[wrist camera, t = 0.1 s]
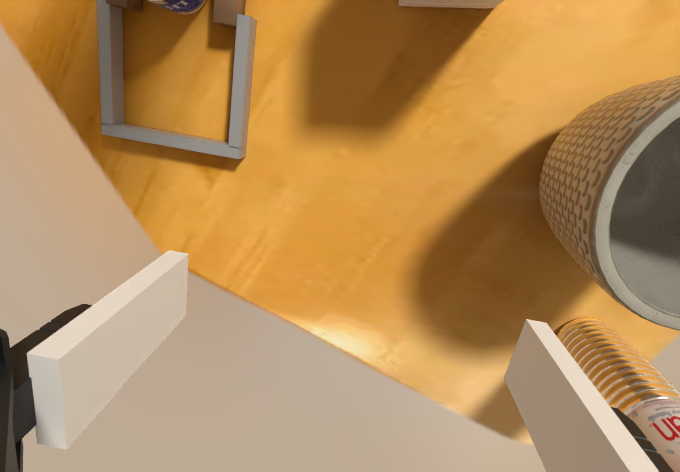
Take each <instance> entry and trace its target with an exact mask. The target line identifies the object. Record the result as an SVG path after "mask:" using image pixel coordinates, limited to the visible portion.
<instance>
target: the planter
mask: <svg viewBox="0 0 680 472" xmlns="http://www.w3.org/2000/svg"><path fill="white" fill-rule="evenodd" d="M539 195H540V203H541V207H542V210H543V214H544V217H545V219H546V221H547V223H548V225H549V227H550V229H551V231H552V232H553V234H554V235H555V236H556V238H557V239H558V241H559V242H560V243H561V245H562V246H563V247H564V248H565V250H566V251H567V252H568V253H569V255H570V256H571V257H572V258H573V259H574V260H575V261H576V262H577V263H578V265H579V266H580V267H581V268H582V269H583V270H584V271H585V272H586V273H587V274H588V275H589V276H590V277H591V278H592V279H593V280H594V281H595V282H596V283H597V284H598V285H599V286H600V287H601V288H602V289H603V290H604V291H605V292H606V293H607V294H609V295H610V296H611V297H612V298H613V299H614V300H615V301H616V302H618V303H619V304H621V305H622V306H624V307H625V308H627V309H628V310H630V311H631V312H633V313H634V314H636V315H638V316H640V317H641V318H644V319H646V320H648V321H650V322H653V323H655V324H657V325H660V326H664V327H668V328H672V329H676V330H680V75H679V76H675V77H670V78H666V79H662V80H658V81H653V82H649V83H645V84H641V85H637V86H634V87H631V88H628V89H625V90H623V91H620V92H617V93H615V94H612V95H610V96H607V97H605V98H604V99H602V100H600V101H598V102H596V103H594V104H593V105H591V106H589V107H588V108H587V109H585V110H584V111H582V112H581V113H580V114H578V115H577V116H576V117H575V118H574V119H573V120H572V121H571V122H570V123H568V124H567V125H566V126H565V128H564V129H563V130H562V131H561V133H560V134H559V135H558V136H557V138H556V139H555V141H554V142H553V144H552V146H551V147H550V149H549V151H548V153H547V156H546V158H545V160H544V163H543V167H542V171H541V175H540V183H539Z"/></svg>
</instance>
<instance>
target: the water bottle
mask: <svg viewBox="0 0 680 472" xmlns="http://www.w3.org/2000/svg"><path fill="white" fill-rule="evenodd" d="M556 336H557V338H558V339H559V340H560V341H561V343H562V344H563V345H564V347H565V348H566V349H567V351H568V352H569V353H570V355H571V356H572V357H573V359H574V360H575V361H576V363H577V364H578V365H579V367H580V368H581V369H582V370H583V372H584V373H585V374H586V376H587V377H588V378H589V380H590V381H591V382H592V384H593V385H594V386H595V388H596V389H597V390H598V392H599V393H600V394H601V395H602V397H603V398H604V399H605V401H606V402H607V403H608V405H609V406H610V407H614V408H618V409H619V410H620V411H622V412H623V413H624V414H625V415H626V416H628V417H629V418H630V419H631V420H632V421H634V422H635V423H636V425H637V426H638V427H639V428H640V430H641V431H642V432H643V433H644V435H645V436H646V437H647V440H648V441H650V442H651V443H652V445H653V446H654V447H655V448H656V450H657V453H659V454H660V455H661V456H662V457H663V458H664V460H665V461H666V462H667V463H668V465H669V466H670V467H671V468H672V470H673V471H674V472H680V391H679V390H678V389H677V388H676V387H675V386H673V385H672V384H671V383H670V382H669V381H668V380H667V379H666V378H665V377H664V376H663V375H662V374H661V373H660V372H659V371H658V370H657V369H656V368H655V367H654V366H653V365H651V363H650V362H649V361H648V360H646V359H645V358H644V356H642V355H641V354H640V353H639V352H638V351H637V350H636V349H635V348H634V347H633V346H632V345H631V344H630V343H629V342H628V341H627V340H626V339H625V338H624V337H623V336H622V335H621V334H619V333H618V331H616V330H615V329H614V328H613V327H612V326H610V325H609V324H607V323H606V322H604V321H602V320H599V319H596V318H579V319H576V320H573V321H571V322H569V323H567V324H566V325H564V326H563V327H562V328H561V329H560V330H559V332H558V333H557V335H556Z"/></svg>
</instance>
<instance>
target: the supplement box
mask: <svg viewBox="0 0 680 472" xmlns="http://www.w3.org/2000/svg"><path fill="white" fill-rule="evenodd" d="M503 1H504V0H399V6H411V7H449V8H495V7H496V6H498V5H499V4H500V3H501V2H503Z"/></svg>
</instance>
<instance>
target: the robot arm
mask: <svg viewBox="0 0 680 472" xmlns="http://www.w3.org/2000/svg"><path fill="white" fill-rule="evenodd" d="M187 276H188V254H187V253H181V252H176V251H171V250H169V251H167V252H166V253H165V254H163V255H162V256H160V257H159V258H158V259H156V260H155V261H154V262H152V263H151V264H149V265H148V266H147V267H145V268H144V269H143V270H141V271H140V272H138V273H137V274H136V275H134V276H133V277H131V278H130V279H129V280H127V281H126V282H124V283H123V284H122V285H120V286H119V287H118V288H116V289H115V290H113V291H112V292H111V293H110V294H108V295H106V296H105V297H104V298H103V299H101V300H100V301H98V302H97V303H96V304H94V305H88V304H82V305H79V306H77V307H74V308H71V309H69V310H66V311H64V312H63V313H61V314H60V315H58V316H57V317H56V318H54V319H52V320H51V322H48V323H47V324H46V325H44V326H42V327H41V328H40V329H39V330H36V331H35V332H33V333H32V334H30V335H29V336H27V337H26V338H24V339H23V340H22V341H20V342H18V343H17V344H16V345H14V346H13V347H11V348H10V345H9V338H8V335H7V333H6V331H4V330H2V329H0V472H23V443H22V438H23V437H24V436H25V435H26V434H27V433H28V432H29V431H30V430H31V429H32V428H33V427H34V426H35V428H36V437H37V443H38V444H42V445H47V446H52V447H56V448H61V449H67V448H68V447H69V446H70V445H71V444H72V443H73V442H74V441H75V439H76V438H77V437H78V436H79V435H80V434H81V433H82V432H83V430H84V429H85V428H86V427H87V426H88V425H89V424H90V423H91V421H92V420H93V419H94V418H95V417H96V416H97V415H98V414H99V412H100V411H101V410H102V409H103V408H104V407H105V406H106V404H107V403H108V402H109V401H110V400H111V399H112V398H113V397H114V395H115V394H116V393H117V392H118V391H119V390H120V389H121V388H122V386H123V385H124V384H125V383H126V382H127V381H128V380H129V378H131V376H132V375H133V374H134V373H135V372H136V371H137V370H138V368H139V367H140V366H141V365H142V364H143V363H144V362H145V361H146V360H147V358H148V357H149V356H150V355H151V354H152V353H153V352H154V350H155V349H156V348H157V347H158V346H159V345H160V344H161V343H162V342H163V340H164V339H165V338H166V337H167V336H168V335H169V334H170V333H171V331H172V330H173V329H174V328H175V327H176V326H177V325H178V323H179V322H180V321H181V320H182V319H183V318H184V317H185V315H186V299H187ZM504 379H505V381H506V384H507V386H508V388H509V390H510V392H511V395H512V397H513V399H514V401H515V403H516V406H517V408H518V410H519V412H520V414H521V417H522V419H523V421H524V423H525V425H526V427H527V430H528V432H529V434H530V436H531V438H532V441H533V443H534V445H535V447H536V449H537V452H538V453H539V456H540V458H541V460H542V463H543V465H544V467H545V469H546V471H547V472H674V471H673V470H672V468H671V467H670V466H669V465H668V463H667V462H666V461H665V460H664V458H663V457H662V456H661V455H660V454H659V453H657V450H656V448H655V447H654V446H653V445H652V443H651V442H650V441H648V440H647V437H646V436H645V435H644V433H643V432H642V431H641V430H640V428H639V427H638V426H637V425H636V423H635V422H634V421H632V420H631V419H630V418H629V417H628V416H626V415H625V414H624V413H623V412H622V411H620V410H619V409H618V408H614V407H610V406H609V405H608V403H607V402H606V401H605V399H604V398H603V397H602V395H601V394H600V393H599V392H598V390H597V389H596V388H595V386H594V385H593V384H592V382H591V381H590V380H589V378H588V377H587V376H586V374H585V373H584V372H583V370H582V369H581V368H580V367H579V365H578V364H577V363H576V361H575V360H574V359H573V357H572V356H571V355H570V353H569V352H568V351H567V349H566V348H565V347H564V345H563V344H562V343H561V341H560V340H559V339H558V338H557V336H556V335H555V334H554V332H553V331H552V330H551V328H550V327H549V326H548V324H547V323H545V322H539V321H534V320H529V319H526V321H525V323H524V326H523V329H522V331H521V334H520V337H519V339H518V342H517V345H516V347H515V350H514V353H513V355H512V358H511V361H510V363H509V366H508V369H507V371H506V374H505V376H504Z"/></svg>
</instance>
